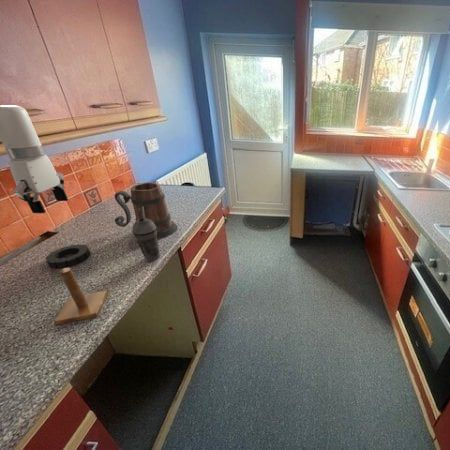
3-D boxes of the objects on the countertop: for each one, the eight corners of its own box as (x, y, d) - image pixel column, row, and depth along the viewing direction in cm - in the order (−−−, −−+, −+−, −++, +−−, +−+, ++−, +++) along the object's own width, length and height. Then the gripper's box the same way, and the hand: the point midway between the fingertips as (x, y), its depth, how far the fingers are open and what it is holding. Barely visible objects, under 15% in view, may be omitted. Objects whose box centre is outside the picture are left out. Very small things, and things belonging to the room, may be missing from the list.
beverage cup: (139, 256, 91) (123, 206, 82) (160, 249, 95) (148, 201, 86) (143, 266, 86) (127, 214, 77) (166, 258, 90) (153, 208, 81)
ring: (41, 271, 82) (38, 265, 81) (58, 252, 91) (55, 247, 90) (83, 265, 85) (80, 259, 84) (94, 248, 94) (92, 242, 93)
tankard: (182, 221, 117) (174, 179, 107) (170, 239, 102) (159, 193, 93) (129, 221, 114) (116, 179, 105) (108, 241, 99) (90, 193, 90)
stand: (55, 324, 64) (32, 285, 58) (71, 300, 71) (51, 262, 65) (97, 316, 67) (79, 278, 60) (108, 293, 74) (92, 257, 68)
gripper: (36, 146, 79) (58, 196, 87) (-19, 159, 64) (14, 218, 72) (62, 147, 80) (82, 196, 88) (14, 159, 65) (43, 218, 73)
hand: (51, 206), depth 80 cm, fingers open, 9 cm apart
